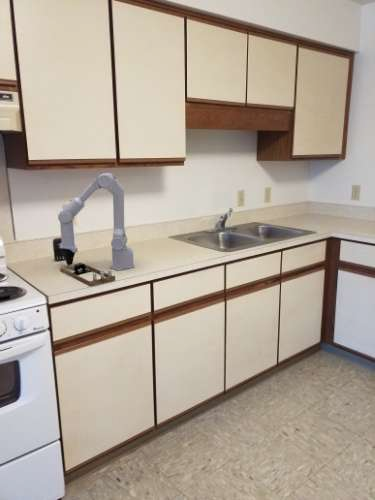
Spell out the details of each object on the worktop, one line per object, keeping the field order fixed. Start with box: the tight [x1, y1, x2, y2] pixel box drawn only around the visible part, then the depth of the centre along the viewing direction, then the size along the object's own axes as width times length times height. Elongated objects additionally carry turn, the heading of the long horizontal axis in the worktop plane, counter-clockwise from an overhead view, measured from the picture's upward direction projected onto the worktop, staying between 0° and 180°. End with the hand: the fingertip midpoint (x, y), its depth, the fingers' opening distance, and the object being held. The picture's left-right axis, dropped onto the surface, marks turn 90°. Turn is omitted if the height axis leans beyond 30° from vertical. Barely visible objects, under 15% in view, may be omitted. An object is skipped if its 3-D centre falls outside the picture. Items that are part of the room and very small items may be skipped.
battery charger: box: [52, 236, 66, 262], centre depth 197 cm, size 7×4×11 cm, turn 123°
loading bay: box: [59, 263, 116, 287], centre depth 173 cm, size 12×29×5 cm, turn 42°
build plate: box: [72, 262, 93, 276], centre depth 178 cm, size 12×7×5 cm, turn 138°
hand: (69, 264), depth 185 cm, fingers closed
